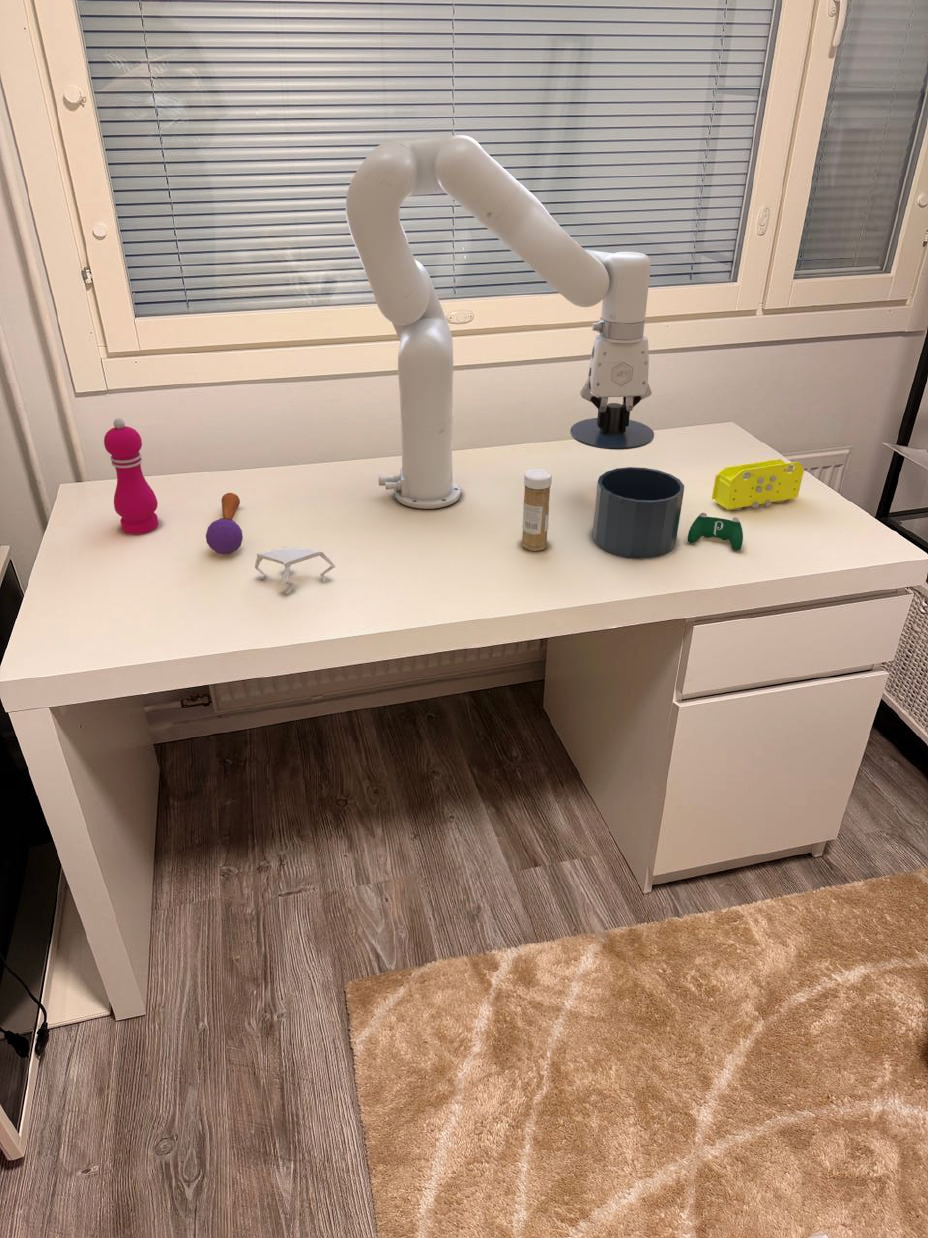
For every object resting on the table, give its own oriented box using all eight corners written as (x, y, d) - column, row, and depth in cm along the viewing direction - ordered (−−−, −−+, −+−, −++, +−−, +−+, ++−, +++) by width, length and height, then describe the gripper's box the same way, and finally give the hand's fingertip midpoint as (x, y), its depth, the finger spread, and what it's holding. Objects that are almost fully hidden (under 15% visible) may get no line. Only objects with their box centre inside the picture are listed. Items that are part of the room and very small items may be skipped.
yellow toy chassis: (727, 514, 164) (735, 472, 159) (710, 502, 168) (717, 461, 164) (798, 502, 168) (807, 461, 164) (779, 490, 173) (788, 450, 168)
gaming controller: (739, 556, 154) (745, 524, 155) (741, 549, 150) (747, 516, 151) (686, 547, 156) (692, 516, 157) (686, 540, 153) (693, 508, 154)
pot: (603, 560, 148) (609, 503, 143) (584, 522, 161) (589, 468, 155) (686, 557, 150) (695, 500, 144) (661, 519, 162) (669, 465, 156)
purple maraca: (248, 487, 162) (242, 528, 145) (246, 518, 165) (240, 561, 147) (214, 483, 161) (205, 524, 143) (213, 514, 163) (203, 558, 146)
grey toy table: (264, 600, 136) (261, 573, 134) (255, 575, 143) (251, 548, 140) (340, 587, 140) (338, 559, 137) (327, 563, 147) (325, 536, 144)
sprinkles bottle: (552, 545, 153) (557, 473, 145) (534, 554, 150) (539, 481, 143) (533, 537, 155) (537, 465, 148) (515, 545, 153) (518, 472, 145)
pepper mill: (170, 522, 159) (150, 415, 148) (142, 539, 153) (119, 428, 143) (139, 514, 161) (117, 408, 151) (110, 530, 156) (85, 421, 145)
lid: (579, 454, 156) (582, 421, 153) (562, 424, 169) (564, 393, 166) (664, 451, 158) (668, 418, 155) (640, 421, 171) (644, 390, 167)
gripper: (580, 336, 149) (573, 439, 159) (674, 333, 151) (661, 436, 160) (571, 324, 155) (564, 424, 165) (661, 322, 157) (649, 421, 167)
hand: (612, 429), depth 163 cm, fingers closed on lid, 2 cm apart
